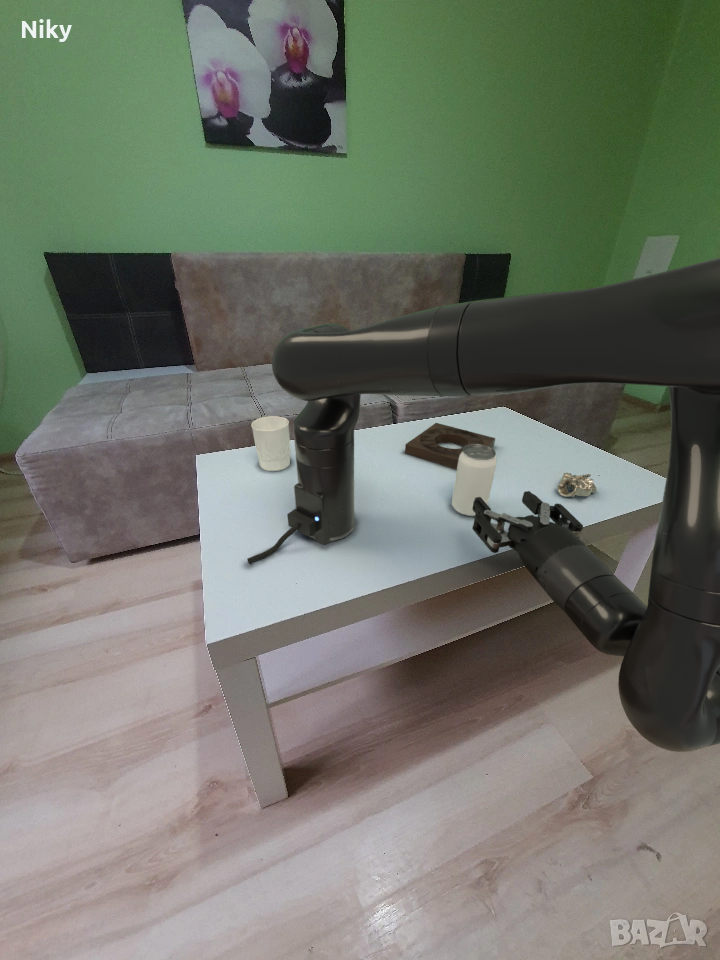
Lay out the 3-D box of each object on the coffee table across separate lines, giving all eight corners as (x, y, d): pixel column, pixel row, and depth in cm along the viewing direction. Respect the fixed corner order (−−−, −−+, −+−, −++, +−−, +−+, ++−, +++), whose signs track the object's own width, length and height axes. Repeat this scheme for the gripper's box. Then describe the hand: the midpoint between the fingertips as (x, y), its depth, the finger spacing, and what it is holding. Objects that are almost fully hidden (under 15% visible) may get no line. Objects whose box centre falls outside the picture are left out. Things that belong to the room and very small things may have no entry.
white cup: (289, 453, 92) (285, 414, 86) (295, 469, 85) (291, 427, 80) (255, 458, 89) (249, 418, 84) (259, 475, 83) (252, 432, 78)
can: (450, 496, 76) (458, 441, 70) (483, 499, 76) (495, 444, 69) (452, 515, 71) (461, 458, 65) (488, 518, 70) (501, 461, 64)
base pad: (468, 473, 84) (470, 463, 83) (404, 453, 92) (405, 444, 91) (493, 447, 95) (495, 438, 94) (434, 431, 103) (435, 422, 102)
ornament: (576, 479, 82) (581, 464, 80) (602, 497, 77) (608, 481, 75) (545, 485, 80) (549, 470, 78) (569, 503, 75) (575, 487, 73)
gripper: (626, 539, 48) (546, 474, 61) (522, 555, 45) (462, 483, 59) (605, 582, 52) (534, 512, 65) (509, 599, 49) (456, 522, 63)
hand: (500, 498), depth 62 cm, fingers open, 8 cm apart
